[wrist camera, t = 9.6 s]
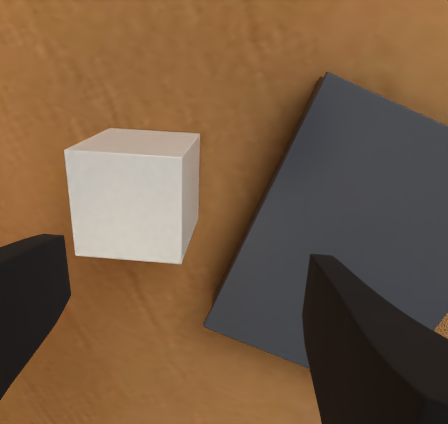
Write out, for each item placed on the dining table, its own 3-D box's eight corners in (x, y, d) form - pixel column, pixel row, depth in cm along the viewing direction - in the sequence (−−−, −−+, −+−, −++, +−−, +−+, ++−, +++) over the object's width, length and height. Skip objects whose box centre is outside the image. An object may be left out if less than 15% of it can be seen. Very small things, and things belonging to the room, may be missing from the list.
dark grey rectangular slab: (368, 362, 23) (381, 397, 20) (208, 298, 22) (202, 327, 20) (517, 160, 18) (555, 175, 16) (318, 69, 17) (327, 71, 15)
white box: (198, 219, 20) (181, 264, 16) (114, 212, 21) (74, 256, 16) (200, 133, 19) (182, 157, 14) (109, 127, 19) (63, 149, 14)
